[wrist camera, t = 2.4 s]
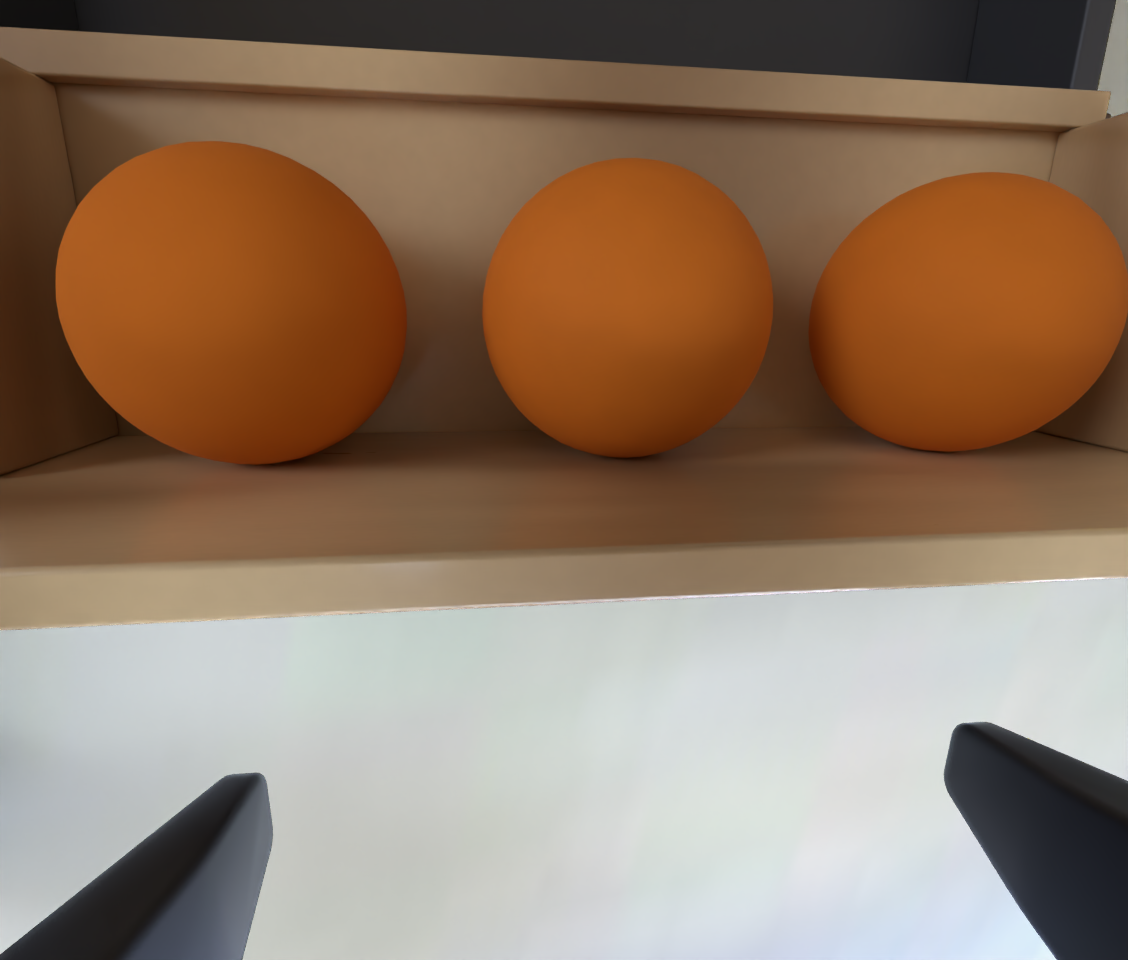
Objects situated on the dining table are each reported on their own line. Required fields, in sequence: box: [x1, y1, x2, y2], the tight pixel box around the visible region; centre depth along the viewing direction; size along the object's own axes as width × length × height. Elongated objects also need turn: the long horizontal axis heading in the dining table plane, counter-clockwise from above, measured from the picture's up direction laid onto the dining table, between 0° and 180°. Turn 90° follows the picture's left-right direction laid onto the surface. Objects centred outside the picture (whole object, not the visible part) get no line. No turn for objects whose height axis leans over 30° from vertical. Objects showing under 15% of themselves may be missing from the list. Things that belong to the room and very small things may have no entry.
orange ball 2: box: [482, 158, 773, 458], centre depth 8 cm, size 4×4×4 cm
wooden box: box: [0, 27, 1128, 630], centre depth 7 cm, size 15×6×6 cm, turn 89°
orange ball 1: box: [56, 141, 407, 465], centre depth 7 cm, size 4×4×4 cm
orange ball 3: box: [808, 172, 1128, 452], centre depth 8 cm, size 4×4×4 cm
